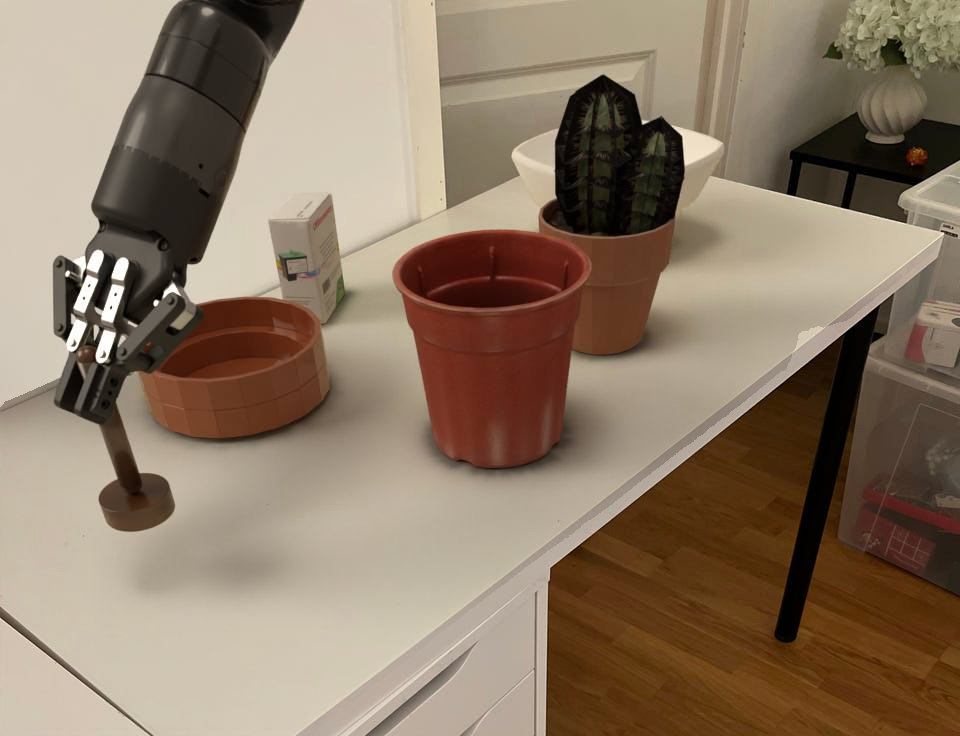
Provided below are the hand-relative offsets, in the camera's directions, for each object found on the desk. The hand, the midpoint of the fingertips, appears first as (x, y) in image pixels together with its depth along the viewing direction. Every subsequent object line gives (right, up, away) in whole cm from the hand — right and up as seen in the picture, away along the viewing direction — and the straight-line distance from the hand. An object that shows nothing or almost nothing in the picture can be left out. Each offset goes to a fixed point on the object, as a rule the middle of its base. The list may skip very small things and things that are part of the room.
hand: (78, 414), depth 66 cm
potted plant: (+41, +18, +39) cm, 59 cm away
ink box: (+8, +24, +48) cm, 54 cm away
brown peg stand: (+2, -6, +8) cm, 10 cm away
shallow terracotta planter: (+3, +10, +33) cm, 34 cm away
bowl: (+44, +35, +58) cm, 81 cm away
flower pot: (+29, +4, +25) cm, 39 cm away
